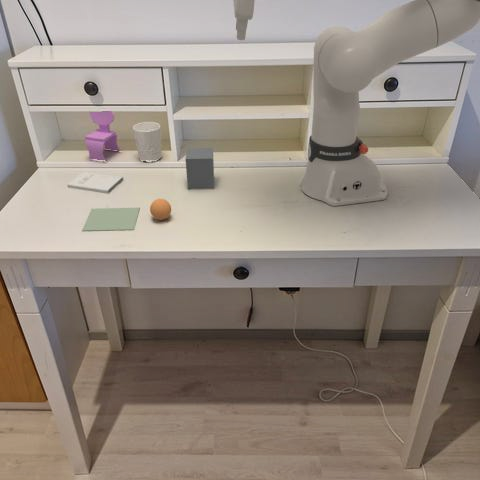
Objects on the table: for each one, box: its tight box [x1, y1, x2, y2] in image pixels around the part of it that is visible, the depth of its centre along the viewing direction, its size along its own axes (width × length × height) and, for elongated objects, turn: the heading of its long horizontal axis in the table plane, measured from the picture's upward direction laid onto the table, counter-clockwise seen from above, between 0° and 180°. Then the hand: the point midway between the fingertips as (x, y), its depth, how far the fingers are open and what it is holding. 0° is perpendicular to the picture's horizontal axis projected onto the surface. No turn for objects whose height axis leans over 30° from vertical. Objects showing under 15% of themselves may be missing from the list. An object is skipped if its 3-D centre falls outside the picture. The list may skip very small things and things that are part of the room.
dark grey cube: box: [185, 147, 215, 190], centre depth 126 cm, size 7×7×9 cm
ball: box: [149, 198, 172, 221], centre depth 112 cm, size 5×5×5 cm
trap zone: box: [81, 207, 141, 232], centre depth 113 cm, size 12×10×1 cm
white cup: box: [132, 121, 163, 161], centre depth 139 cm, size 8×8×10 cm
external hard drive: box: [67, 171, 124, 195], centre depth 129 cm, size 2×8×12 cm
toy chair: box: [84, 110, 122, 161], centre depth 139 cm, size 8×9×15 cm
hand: (240, 34), depth 103 cm, fingers open, 8 cm apart
